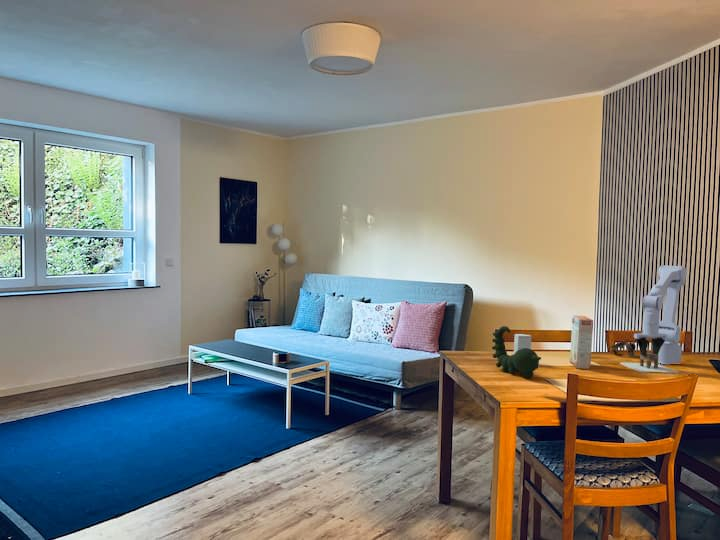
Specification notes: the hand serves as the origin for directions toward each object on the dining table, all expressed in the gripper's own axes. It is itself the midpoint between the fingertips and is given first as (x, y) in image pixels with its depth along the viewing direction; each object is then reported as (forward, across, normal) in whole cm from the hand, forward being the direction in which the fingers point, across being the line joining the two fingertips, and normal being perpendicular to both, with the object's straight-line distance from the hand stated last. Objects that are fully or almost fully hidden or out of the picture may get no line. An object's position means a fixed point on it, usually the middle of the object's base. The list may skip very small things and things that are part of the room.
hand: (649, 355), depth 224 cm
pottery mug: (+6, -9, -26) cm, 28 cm away
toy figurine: (+6, +64, +5) cm, 65 cm away
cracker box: (+6, +28, -6) cm, 30 cm away
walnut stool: (+5, 0, 0) cm, 5 cm away
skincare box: (+6, +52, -14) cm, 54 cm away
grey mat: (+6, 0, 0) cm, 6 cm away
